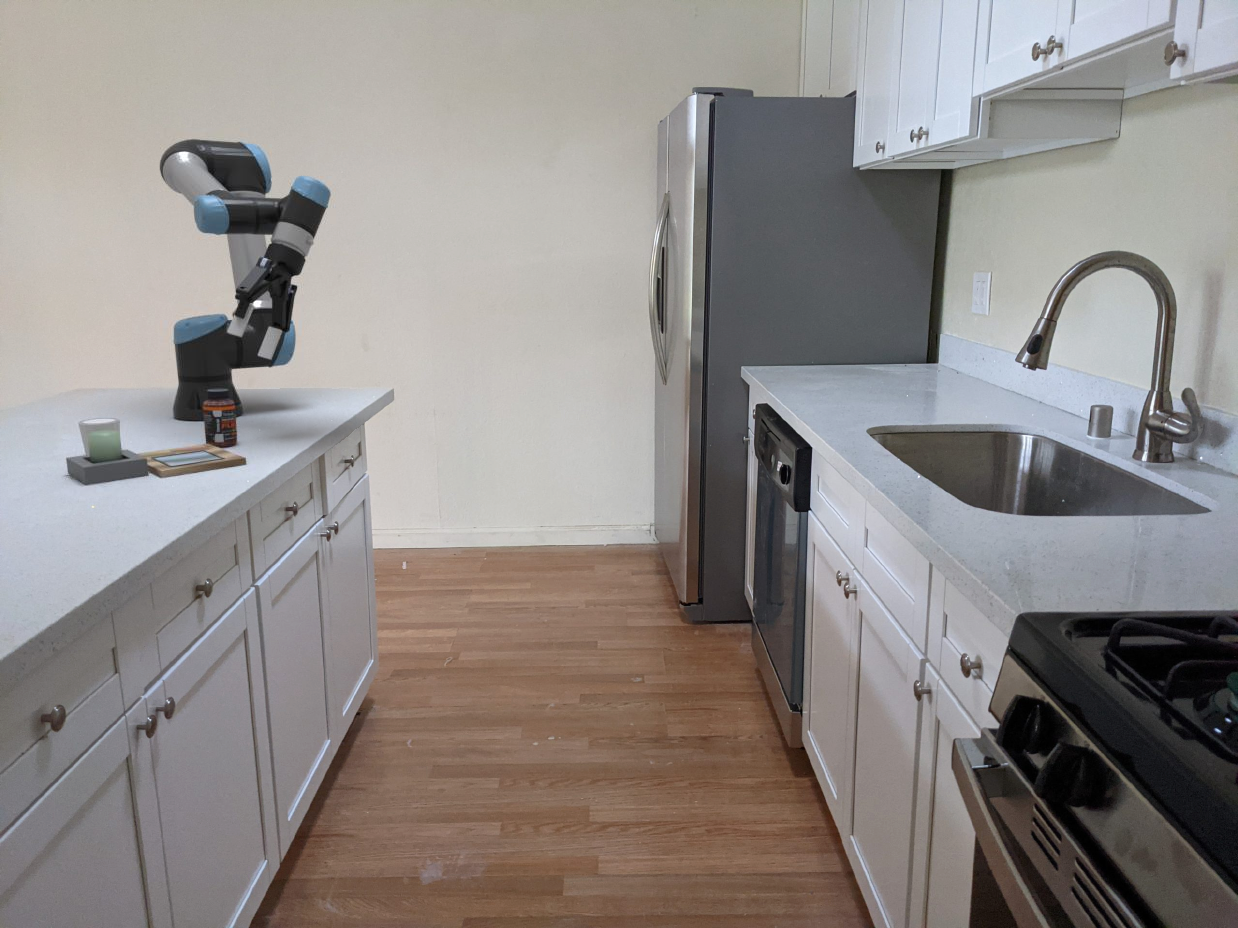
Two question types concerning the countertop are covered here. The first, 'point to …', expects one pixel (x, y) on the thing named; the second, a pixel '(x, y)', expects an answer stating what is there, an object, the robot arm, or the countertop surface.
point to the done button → (104, 446)
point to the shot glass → (97, 428)
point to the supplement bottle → (219, 418)
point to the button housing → (107, 468)
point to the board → (190, 460)
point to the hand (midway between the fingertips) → (249, 346)
